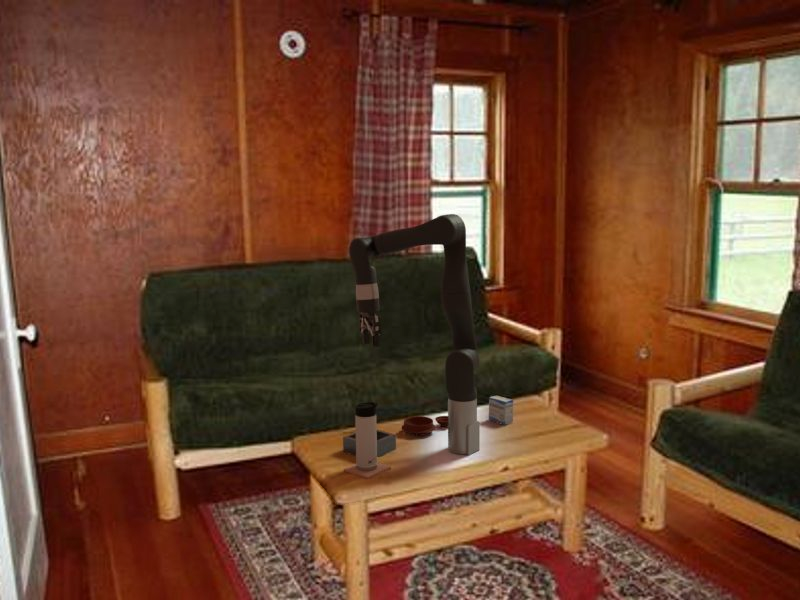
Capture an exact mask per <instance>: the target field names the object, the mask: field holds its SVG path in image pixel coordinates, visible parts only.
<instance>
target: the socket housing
mask: <svg viewBox="0 0 800 600" xmlns="http://www.w3.org/2000/svg"><path fill="white" fill-rule="evenodd" d="M342 449H343V450H342V452H343V453H345V452H346V453H345V454H348V453H350V454H349V455H352V454H353V455H352V456H355V455H356V431H354V432H352V433H350V434H347V435H344V436H342ZM395 449H396V450H397V435H396V434H395V433H391V432H388V431H385V430H380V429H377V457H378V458H380V457H382V456H384V454H385V455H387V454H389V453H391V452H393V450H394V451H396V450H395ZM386 453H387V454H386Z"/></svg>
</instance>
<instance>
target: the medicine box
mask: <svg viewBox="0 0 800 600" xmlns="http://www.w3.org/2000/svg"><path fill="white" fill-rule="evenodd" d="M489 420H490V422H492V421H494V422H493V423H496V422H498V423H497V424H499V423H501V424H500V425H503V424H505V425H504V426H507V425H506V424H508V425H510V424H509V423H511V422H513V423H514V399H511V398H507V397H502V396H499V395H493V396H490V397H489V399H488V421H489ZM511 424H512V423H511Z"/></svg>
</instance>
